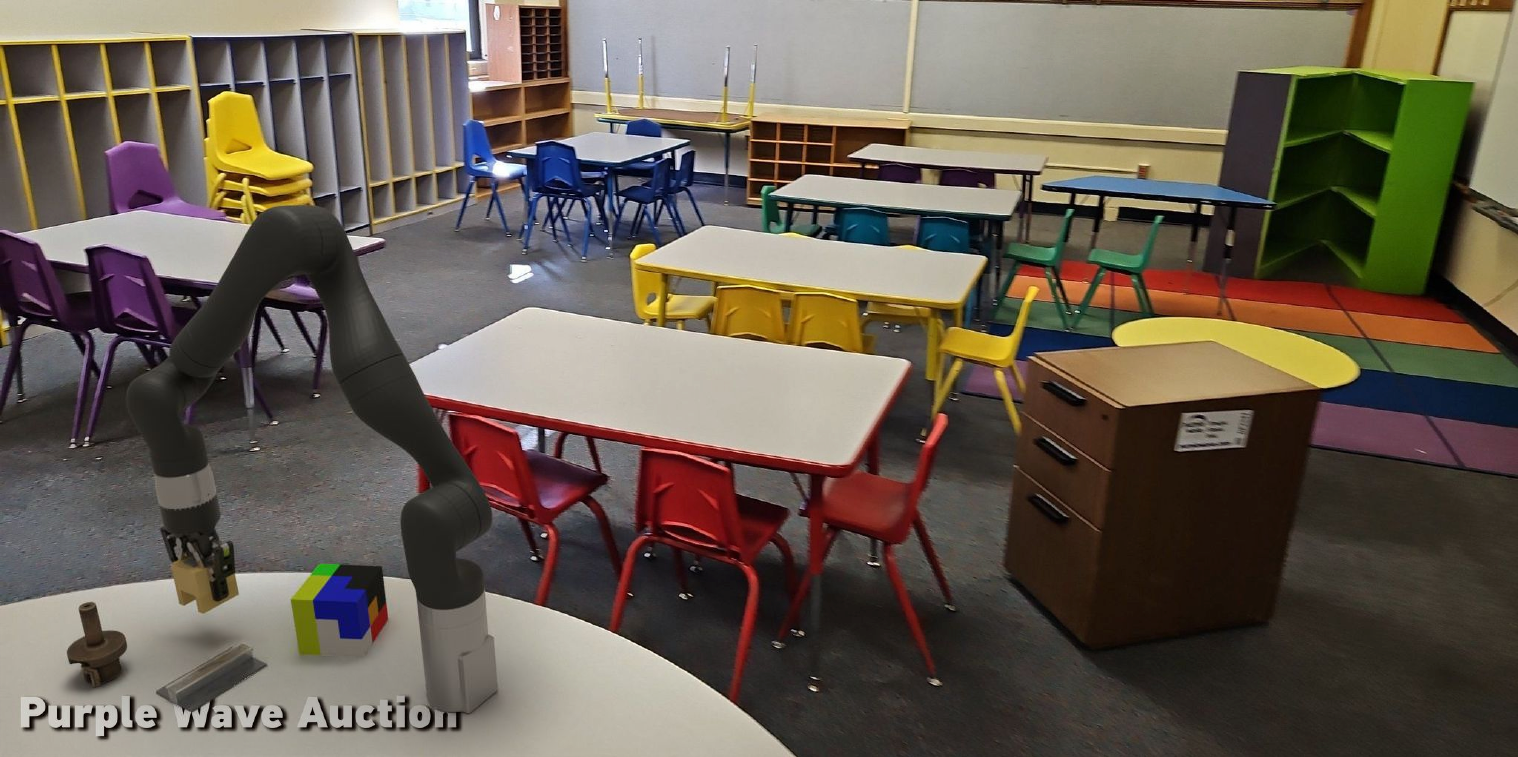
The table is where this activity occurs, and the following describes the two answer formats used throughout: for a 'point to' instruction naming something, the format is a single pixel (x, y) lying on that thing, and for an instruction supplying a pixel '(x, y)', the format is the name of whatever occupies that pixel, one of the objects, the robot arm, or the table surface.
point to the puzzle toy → (340, 610)
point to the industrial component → (97, 648)
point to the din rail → (212, 678)
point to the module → (198, 584)
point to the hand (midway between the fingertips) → (207, 592)
